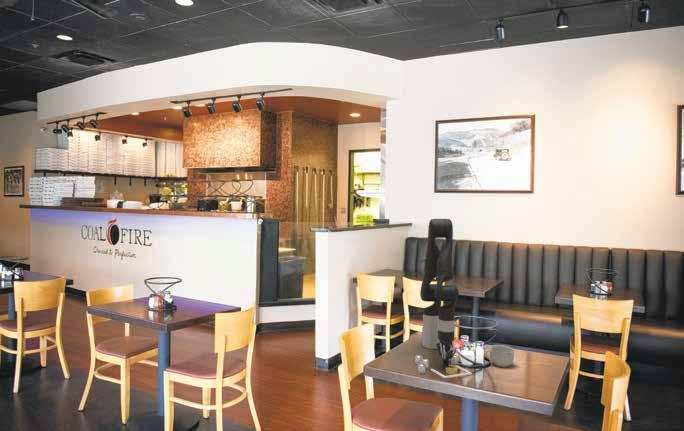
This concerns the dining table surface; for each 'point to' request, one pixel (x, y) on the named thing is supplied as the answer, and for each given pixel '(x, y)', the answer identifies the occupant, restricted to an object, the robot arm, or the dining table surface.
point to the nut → (451, 369)
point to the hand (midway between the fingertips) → (445, 366)
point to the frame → (453, 375)
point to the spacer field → (424, 363)
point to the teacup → (500, 355)
